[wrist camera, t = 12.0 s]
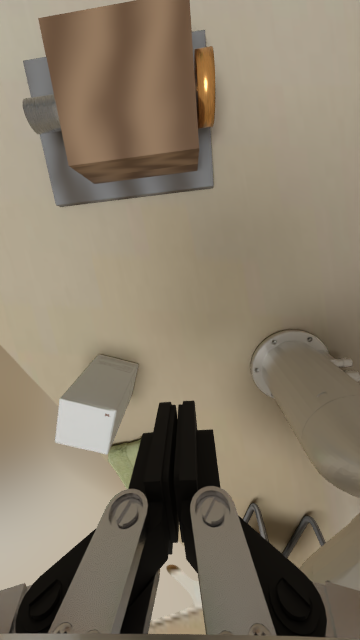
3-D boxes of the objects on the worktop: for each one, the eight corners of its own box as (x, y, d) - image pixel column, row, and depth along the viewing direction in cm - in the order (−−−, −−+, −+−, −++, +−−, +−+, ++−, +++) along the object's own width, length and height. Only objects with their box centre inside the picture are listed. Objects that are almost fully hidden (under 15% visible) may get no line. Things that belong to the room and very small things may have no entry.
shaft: (207, 74, 27) (212, 26, 21) (211, 136, 28) (216, 107, 22) (42, 101, 28) (3, 61, 22) (54, 158, 30) (21, 135, 24)
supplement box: (98, 352, 40) (58, 396, 28) (139, 363, 40) (118, 411, 28) (91, 388, 42) (52, 443, 30) (131, 398, 43) (107, 457, 30)
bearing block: (204, 38, 28) (210, -45, 20) (212, 188, 32) (219, 167, 24) (29, 68, 29) (-30, 1, 21) (60, 206, 34) (21, 193, 26)
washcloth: (142, 505, 51) (139, 521, 48) (106, 443, 46) (100, 457, 43) (198, 491, 49) (199, 507, 46) (166, 425, 44) (164, 438, 41)
